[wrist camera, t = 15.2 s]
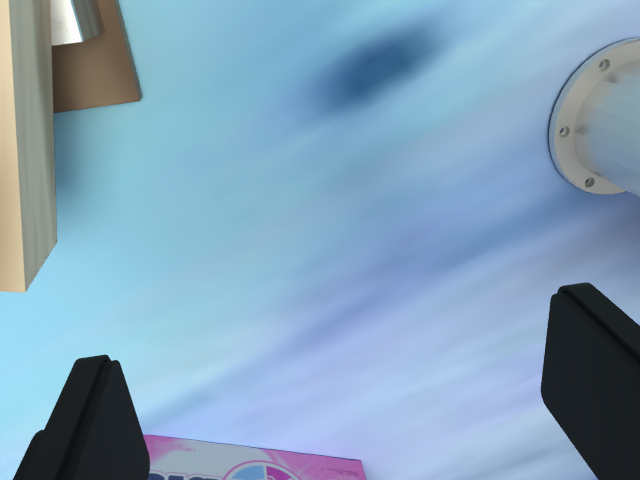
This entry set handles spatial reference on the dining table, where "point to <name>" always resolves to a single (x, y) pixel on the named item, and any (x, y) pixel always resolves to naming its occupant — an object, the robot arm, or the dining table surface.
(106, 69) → the stand
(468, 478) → the dining table surface
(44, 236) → the oak batten
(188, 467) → the gum box
